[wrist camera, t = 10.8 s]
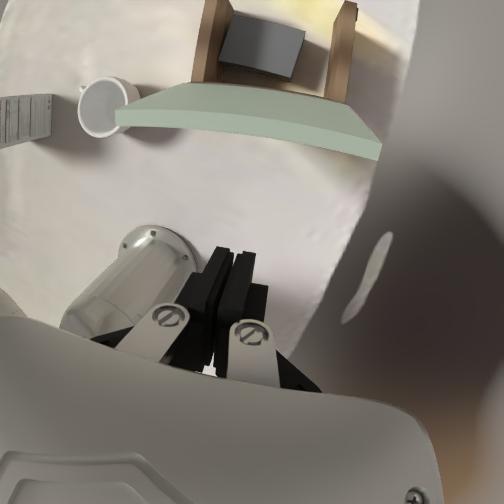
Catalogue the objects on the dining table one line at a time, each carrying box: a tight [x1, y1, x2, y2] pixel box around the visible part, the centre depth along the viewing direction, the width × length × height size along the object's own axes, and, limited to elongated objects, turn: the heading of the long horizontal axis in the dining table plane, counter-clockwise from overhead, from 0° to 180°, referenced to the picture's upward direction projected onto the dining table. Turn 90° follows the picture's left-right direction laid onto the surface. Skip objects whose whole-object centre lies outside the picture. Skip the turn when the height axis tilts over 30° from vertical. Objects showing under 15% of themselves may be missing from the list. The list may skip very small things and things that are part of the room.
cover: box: [115, 82, 383, 161], centre depth 18 cm, size 12×14×1 cm
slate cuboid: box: [218, 15, 306, 82], centre depth 26 cm, size 6×8×4 cm
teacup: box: [78, 76, 141, 138], centre depth 29 cm, size 10×8×5 cm
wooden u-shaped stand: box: [191, 0, 358, 103], centre depth 24 cm, size 12×15×8 cm
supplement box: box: [0, 94, 52, 149], centre depth 27 cm, size 7×7×13 cm
